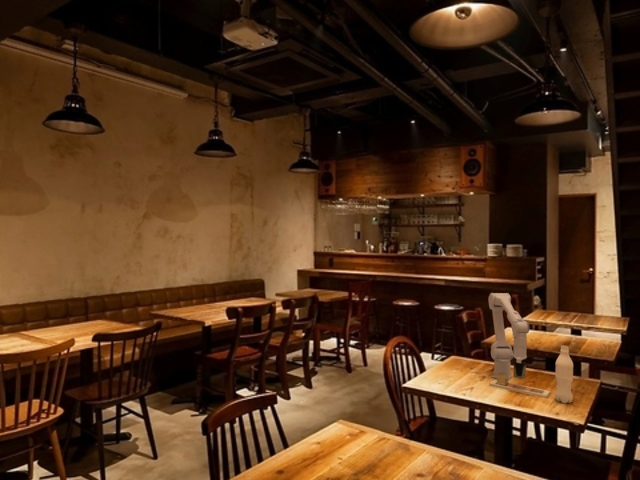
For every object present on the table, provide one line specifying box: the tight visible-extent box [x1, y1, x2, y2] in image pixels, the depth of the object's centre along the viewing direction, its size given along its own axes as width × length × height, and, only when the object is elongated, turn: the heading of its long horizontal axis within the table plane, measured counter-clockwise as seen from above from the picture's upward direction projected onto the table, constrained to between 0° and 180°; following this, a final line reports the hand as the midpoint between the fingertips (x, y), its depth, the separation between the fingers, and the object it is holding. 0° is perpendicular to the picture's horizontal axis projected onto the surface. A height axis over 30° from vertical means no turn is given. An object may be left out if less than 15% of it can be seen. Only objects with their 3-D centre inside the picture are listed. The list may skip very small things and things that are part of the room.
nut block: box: [512, 364, 527, 380], centre depth 221 cm, size 4×4×6 cm
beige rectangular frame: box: [488, 379, 552, 399], centre depth 222 cm, size 8×26×1 cm, turn 50°
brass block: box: [496, 373, 509, 386], centre depth 227 cm, size 4×4×6 cm
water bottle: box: [554, 345, 574, 404], centre depth 206 cm, size 7×7×25 cm
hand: (519, 374), depth 221 cm, fingers closed on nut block, 5 cm apart
